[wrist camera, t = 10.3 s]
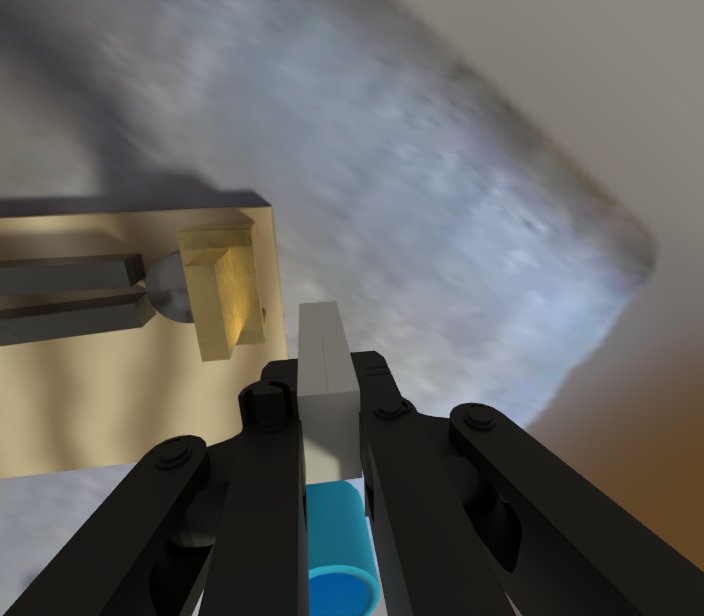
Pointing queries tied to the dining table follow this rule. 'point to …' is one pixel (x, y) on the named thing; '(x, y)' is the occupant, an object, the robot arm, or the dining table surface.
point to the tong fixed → (102, 278)
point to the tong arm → (74, 318)
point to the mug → (339, 552)
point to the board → (123, 350)
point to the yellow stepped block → (223, 287)
